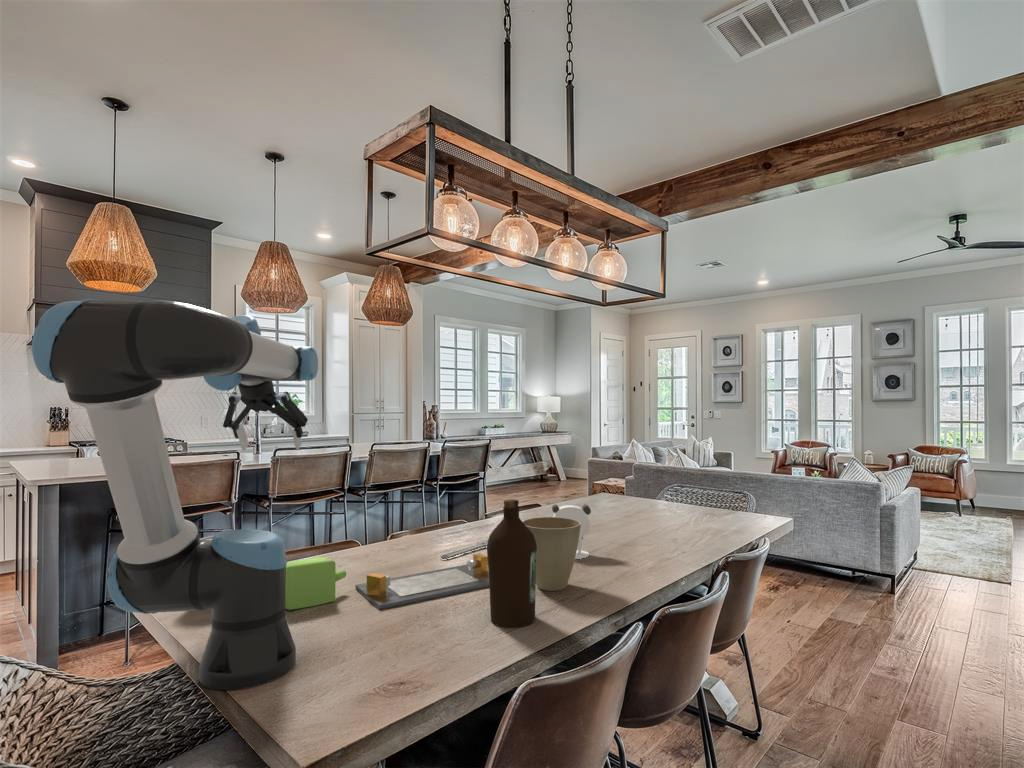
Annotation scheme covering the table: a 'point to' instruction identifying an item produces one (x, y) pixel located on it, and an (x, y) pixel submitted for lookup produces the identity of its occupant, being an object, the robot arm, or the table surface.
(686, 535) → the table surface
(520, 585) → the olive oil
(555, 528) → the plant pot
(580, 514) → the panda figurine
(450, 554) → the adjustable wrench
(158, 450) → the robot arm
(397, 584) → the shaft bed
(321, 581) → the green block with lugs
